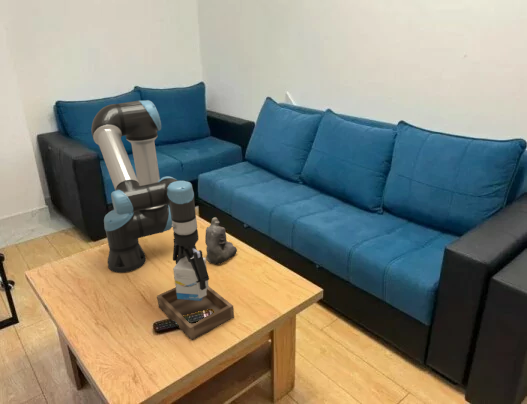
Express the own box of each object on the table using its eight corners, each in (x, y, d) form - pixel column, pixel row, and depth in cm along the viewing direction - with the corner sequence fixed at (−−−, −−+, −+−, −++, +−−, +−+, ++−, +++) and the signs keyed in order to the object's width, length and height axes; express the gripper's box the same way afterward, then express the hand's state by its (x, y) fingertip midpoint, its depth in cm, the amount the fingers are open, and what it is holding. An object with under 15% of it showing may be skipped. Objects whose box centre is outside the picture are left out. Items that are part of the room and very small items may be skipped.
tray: (158, 307, 151) (156, 295, 149) (198, 288, 161) (197, 277, 159) (191, 340, 135) (190, 328, 133) (234, 317, 145) (233, 305, 143)
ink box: (201, 301, 140) (197, 270, 135) (176, 299, 141) (172, 268, 137) (209, 286, 147) (206, 256, 143) (186, 284, 149) (182, 254, 144)
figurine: (235, 249, 186) (232, 211, 179) (240, 263, 176) (237, 223, 169) (204, 253, 184) (200, 215, 176) (208, 268, 173) (204, 228, 166)
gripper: (156, 221, 141) (165, 277, 150) (195, 247, 124) (202, 309, 133) (177, 214, 146) (184, 269, 154) (216, 239, 129) (222, 299, 137)
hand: (192, 288), depth 144 cm, fingers closed on ink box, 11 cm apart
